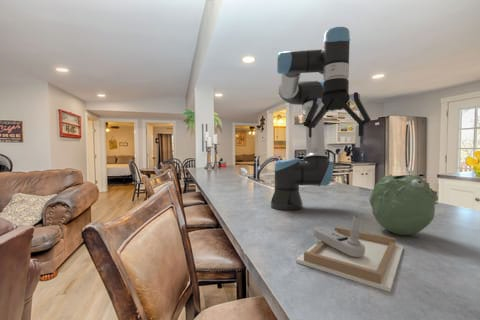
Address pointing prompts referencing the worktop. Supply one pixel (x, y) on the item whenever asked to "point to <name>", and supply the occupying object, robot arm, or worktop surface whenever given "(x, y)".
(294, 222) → the worktop surface
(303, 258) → the wooden framed canvas
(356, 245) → the electronic device
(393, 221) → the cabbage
